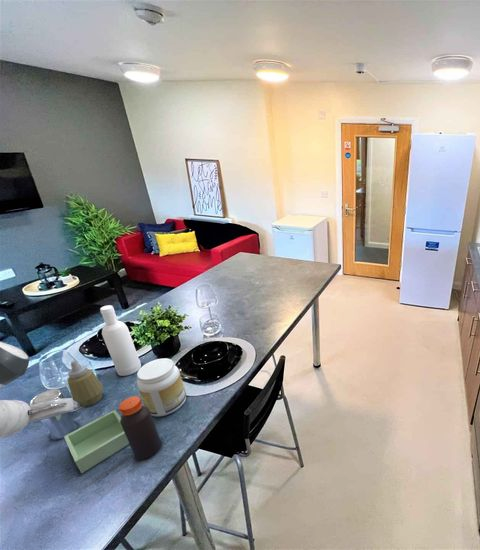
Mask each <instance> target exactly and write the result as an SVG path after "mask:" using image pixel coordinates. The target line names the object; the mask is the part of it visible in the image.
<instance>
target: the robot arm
mask: <svg viewBox="0 0 480 550" xmlns="http://www.w3.org/2000/svg"><path fill="white" fill-rule="evenodd" d="M29 364H30V357H29V355H28V354H27V353H26V352H25V351H24V350H23V349H21V348H19V347H17V346H16V345H15V346H14V345H12V344H9V343H6V342H3V341H1V340H0V389H1V388H3V387H4V386H7V385H8V384H10V383H12V382H13V381H15V380H18V379H19V378H20V377H22V376H24V375H25V374H26V372H27V370H28V368H29ZM74 409H75V401H74V400H73V398H72V397H64V399H56V400H52V401H48V402H44V403H40V404H36V405H33V406H30V404H29V403H27V402H25V401H23V400H18V399H0V440H4V439H7V438H10V437H13V436H15V435H16V434H18V433H20V432H21V431H22V430H23V429H24V428H26V426H27V425H30V424H33V423H37V422H40V420H44V419H47V418H51V417H54V416H58V415H61V414H64V413H68V412H70V413H71V412H73V411H74Z"/></svg>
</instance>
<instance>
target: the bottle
mask: <svg viewBox="0 0 480 550" xmlns="http://www.w3.org/2000/svg"><path fill="white" fill-rule="evenodd" d="M99 310H100V314H101V315H102V318H103V321H104V323H105V325H104V326H103V327H102V329H101V335H102V338H103V342H104V343H105V346H106V348H107V350H108V353H109V355H110V358H111V360H112V363H113V366H114V369H115V371H116V372H117V374H118V376H121V377H126V376H131V375H132V374H135V373H136V372H138V371H139V369H140V368H141V367H142V363H141V360H140V358H139V355H138V352H137V350H136V347H135V344H134V340H133V338H132V336H131V333H130V330H129V326H127V324H126V323H125V322H124V321H120V320H118V317H117V315H116V312H115V308H114V306H113V305H112V304H111V305H110V304H109V305H108V304H107V305H104V306H101V307H100V308H99Z"/></svg>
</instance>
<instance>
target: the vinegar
mask: <svg viewBox="0 0 480 550" xmlns="http://www.w3.org/2000/svg"><path fill="white" fill-rule="evenodd" d="M140 397H141V396H138V395H137V396H135V395H134V396H133V395H132V396H130V397H127V398H125V399H124V400H122V401H121V402H120V404H118V409H119V412H120V414H121V416H120V417H121V420H120V423H121V426H122V428H123V430H124V432H125V435H126V437H127V439H128V441H129V444H128V445H129V446H130V448H131V450H132V453H133V455H134V457H135V459H137V460H140V461H141V460H146V459H148V458H149V459H150V458H151V457H153V456H154V455H155V454H156V453H158V451H159V450H160V449H161V446H162V441H161V437H160V435H159V433H158V430H157V427H156V424H155V422H154V419H153V416H152V415H151V413H150V411H149V409H148V407H146V406H145V405H144V404H143V401H142V398H140Z"/></svg>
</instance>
